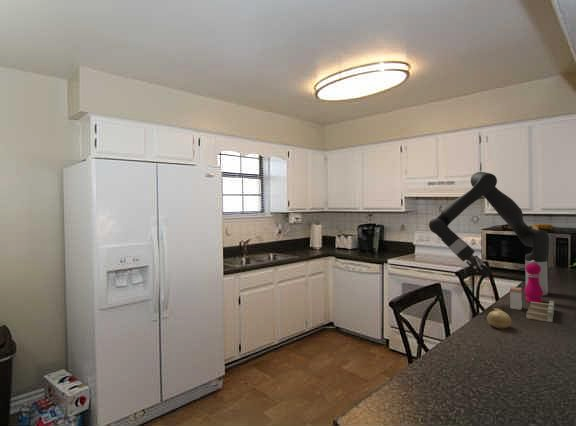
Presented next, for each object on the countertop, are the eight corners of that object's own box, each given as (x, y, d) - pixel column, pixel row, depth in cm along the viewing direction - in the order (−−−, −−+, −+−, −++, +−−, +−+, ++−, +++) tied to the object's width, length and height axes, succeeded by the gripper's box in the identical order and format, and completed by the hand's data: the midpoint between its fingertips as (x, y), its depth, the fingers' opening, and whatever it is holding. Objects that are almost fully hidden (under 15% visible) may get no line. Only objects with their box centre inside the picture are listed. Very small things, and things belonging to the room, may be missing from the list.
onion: (513, 326, 134) (512, 308, 134) (508, 332, 128) (508, 313, 128) (489, 321, 139) (489, 304, 139) (484, 327, 133) (484, 309, 133)
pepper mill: (537, 299, 167) (536, 258, 166) (546, 303, 160) (546, 261, 159) (521, 299, 168) (520, 259, 167) (530, 303, 161) (529, 261, 160)
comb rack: (530, 306, 156) (530, 298, 156) (554, 310, 150) (553, 301, 150) (526, 318, 142) (526, 308, 141) (552, 322, 136) (552, 312, 136)
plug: (511, 306, 158) (511, 286, 158) (521, 307, 155) (521, 288, 155) (510, 308, 155) (509, 288, 155) (520, 309, 152) (520, 289, 152)
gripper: (463, 246, 162) (492, 272, 154) (470, 243, 172) (497, 267, 165) (452, 256, 165) (479, 282, 158) (459, 252, 176) (485, 277, 169)
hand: (488, 275), depth 162 cm, fingers open, 8 cm apart
